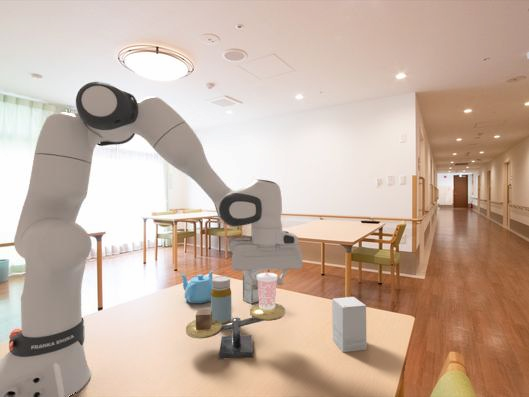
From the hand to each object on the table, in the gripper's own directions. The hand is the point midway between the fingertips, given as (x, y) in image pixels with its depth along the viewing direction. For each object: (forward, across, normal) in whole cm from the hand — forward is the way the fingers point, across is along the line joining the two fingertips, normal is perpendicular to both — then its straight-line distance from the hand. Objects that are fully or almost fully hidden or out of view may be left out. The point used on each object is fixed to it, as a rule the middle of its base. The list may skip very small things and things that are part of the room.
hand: (267, 284), depth 80 cm
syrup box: (+18, -3, +36) cm, 40 cm away
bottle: (+18, -14, +18) cm, 29 cm away
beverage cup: (+7, 0, 0) cm, 7 cm away
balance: (+18, -9, 0) cm, 20 cm away
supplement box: (+18, +24, -1) cm, 30 cm away
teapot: (+18, -24, +41) cm, 51 cm away
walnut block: (+11, -18, 0) cm, 21 cm away
